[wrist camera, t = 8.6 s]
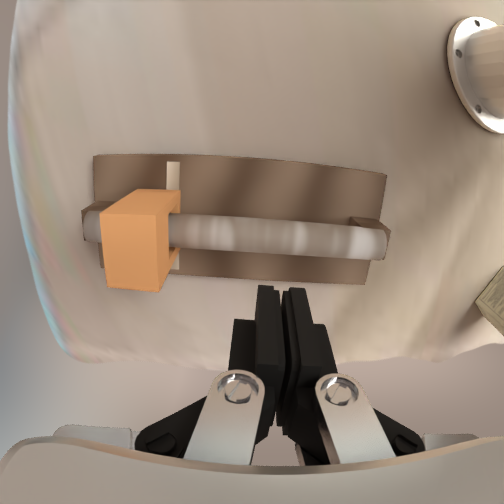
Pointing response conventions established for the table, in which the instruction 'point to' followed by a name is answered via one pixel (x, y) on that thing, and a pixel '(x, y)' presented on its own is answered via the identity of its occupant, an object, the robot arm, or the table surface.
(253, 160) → the rail base
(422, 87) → the table surface
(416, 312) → the table surface
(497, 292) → the skincare box
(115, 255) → the collar
